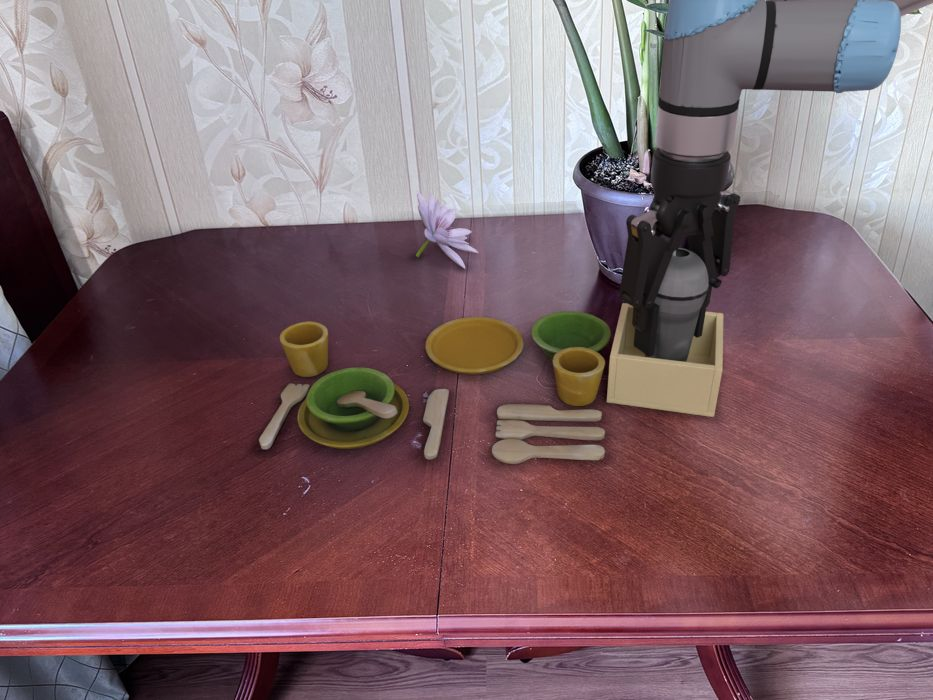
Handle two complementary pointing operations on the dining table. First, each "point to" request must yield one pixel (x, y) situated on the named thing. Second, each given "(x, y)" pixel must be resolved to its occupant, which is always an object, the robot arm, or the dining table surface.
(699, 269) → the beverage cup
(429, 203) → the water lily
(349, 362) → the dining table surface
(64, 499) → the dining table surface
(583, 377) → the tableware set
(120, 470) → the dining table surface
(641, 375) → the box
